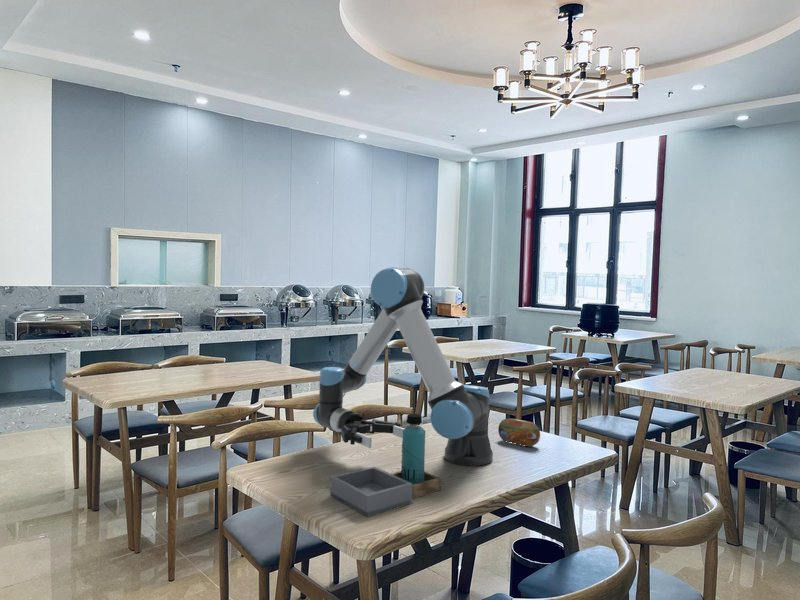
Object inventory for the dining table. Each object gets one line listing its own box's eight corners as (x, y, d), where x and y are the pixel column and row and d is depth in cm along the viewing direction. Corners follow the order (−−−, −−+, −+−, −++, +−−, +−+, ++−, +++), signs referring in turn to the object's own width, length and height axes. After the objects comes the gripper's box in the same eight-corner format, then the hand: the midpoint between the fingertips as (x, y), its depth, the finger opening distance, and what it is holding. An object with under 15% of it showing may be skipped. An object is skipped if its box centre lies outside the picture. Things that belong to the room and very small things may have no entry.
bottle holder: (414, 477, 165) (414, 467, 165) (441, 489, 156) (441, 478, 156) (383, 486, 158) (384, 475, 158) (410, 498, 149) (410, 487, 149)
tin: (497, 440, 204) (498, 416, 204) (501, 438, 207) (502, 415, 206) (536, 449, 195) (537, 424, 194) (541, 447, 197) (541, 423, 197)
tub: (373, 484, 159) (374, 466, 158) (412, 503, 146) (412, 483, 146) (330, 495, 150) (330, 476, 150) (367, 516, 137) (367, 496, 137)
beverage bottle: (421, 483, 161) (423, 411, 160) (426, 492, 154) (428, 417, 153) (398, 483, 160) (400, 411, 159) (402, 492, 153) (404, 417, 152)
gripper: (379, 428, 189) (422, 444, 172) (312, 441, 173) (353, 460, 156) (379, 405, 188) (423, 419, 172) (312, 416, 173) (353, 432, 156)
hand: (389, 438), depth 164 cm, fingers open, 13 cm apart
